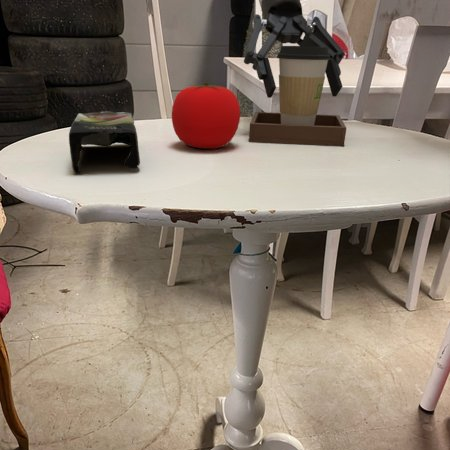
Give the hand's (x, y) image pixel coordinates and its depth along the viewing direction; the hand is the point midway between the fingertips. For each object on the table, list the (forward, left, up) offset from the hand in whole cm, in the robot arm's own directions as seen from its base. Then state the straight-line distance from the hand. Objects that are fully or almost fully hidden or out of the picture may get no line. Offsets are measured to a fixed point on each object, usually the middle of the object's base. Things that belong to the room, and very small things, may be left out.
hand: (305, 92), depth 87 cm
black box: (+31, +23, -9) cm, 39 cm away
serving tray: (+1, -2, -8) cm, 9 cm away
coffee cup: (+1, -3, -8) cm, 8 cm away
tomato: (+17, +11, -9) cm, 22 cm away
